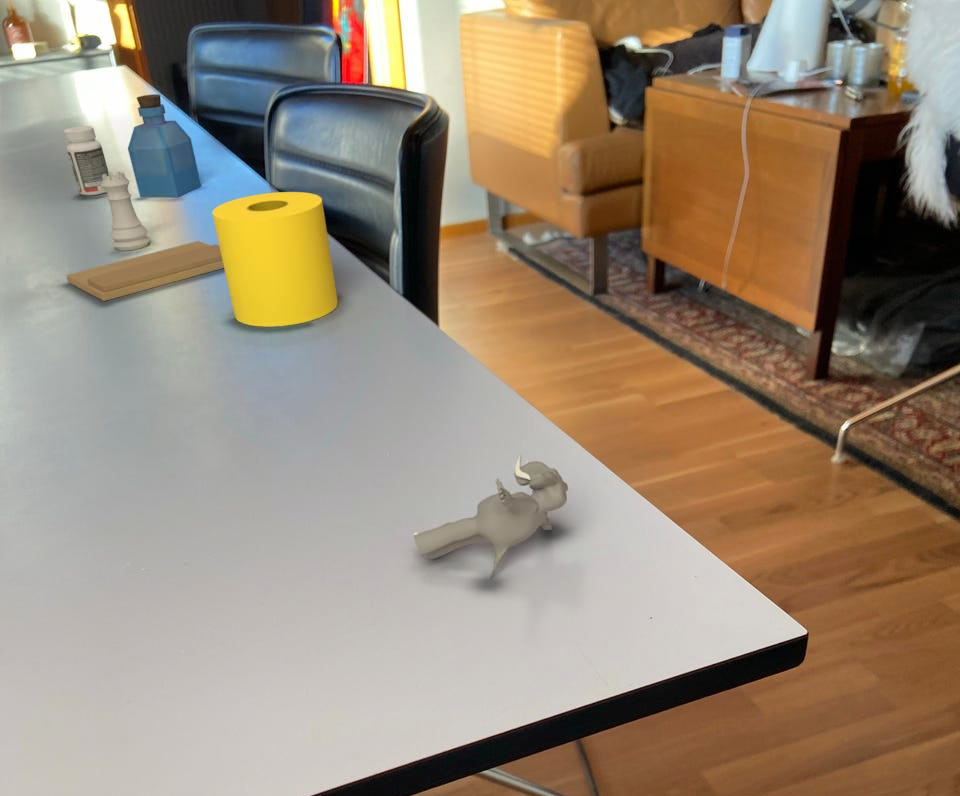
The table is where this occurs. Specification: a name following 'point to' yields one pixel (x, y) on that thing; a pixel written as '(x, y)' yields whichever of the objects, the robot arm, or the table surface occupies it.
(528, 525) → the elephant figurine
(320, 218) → the yellow toilet paper roll
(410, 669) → the table surface
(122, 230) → the rook chess piece
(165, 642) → the table surface
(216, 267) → the wooden board
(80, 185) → the pill bottle
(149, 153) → the perfume bottle
